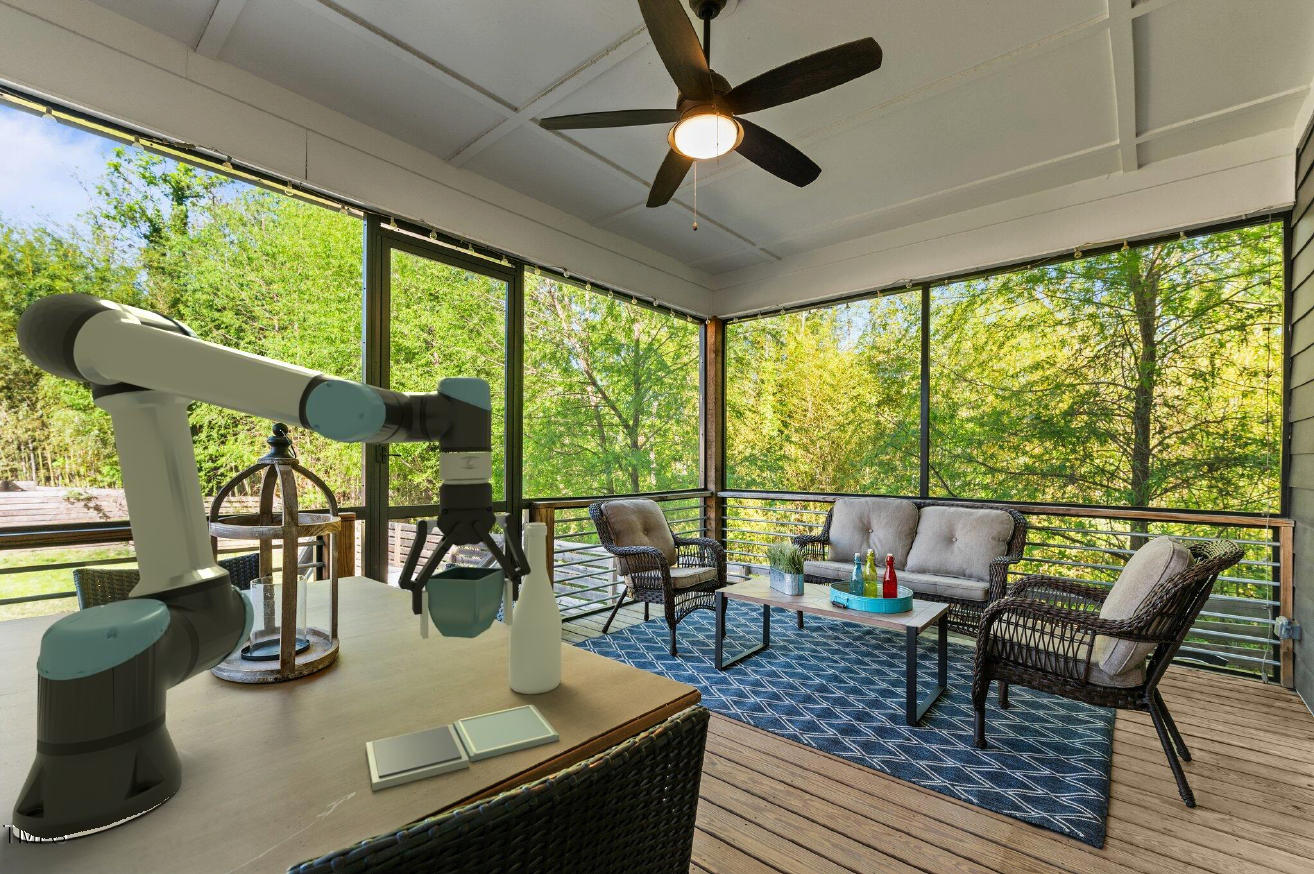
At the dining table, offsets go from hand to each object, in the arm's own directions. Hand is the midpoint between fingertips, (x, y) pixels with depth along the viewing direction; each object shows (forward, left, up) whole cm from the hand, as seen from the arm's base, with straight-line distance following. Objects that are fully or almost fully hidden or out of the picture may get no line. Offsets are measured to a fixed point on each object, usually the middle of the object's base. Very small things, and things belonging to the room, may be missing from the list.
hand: (467, 629), depth 88 cm
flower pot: (0, 0, -1) cm, 1 cm away
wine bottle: (+16, +17, -17) cm, 29 cm away
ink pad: (-7, 0, -17) cm, 18 cm away
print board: (+6, +1, -17) cm, 18 cm away
